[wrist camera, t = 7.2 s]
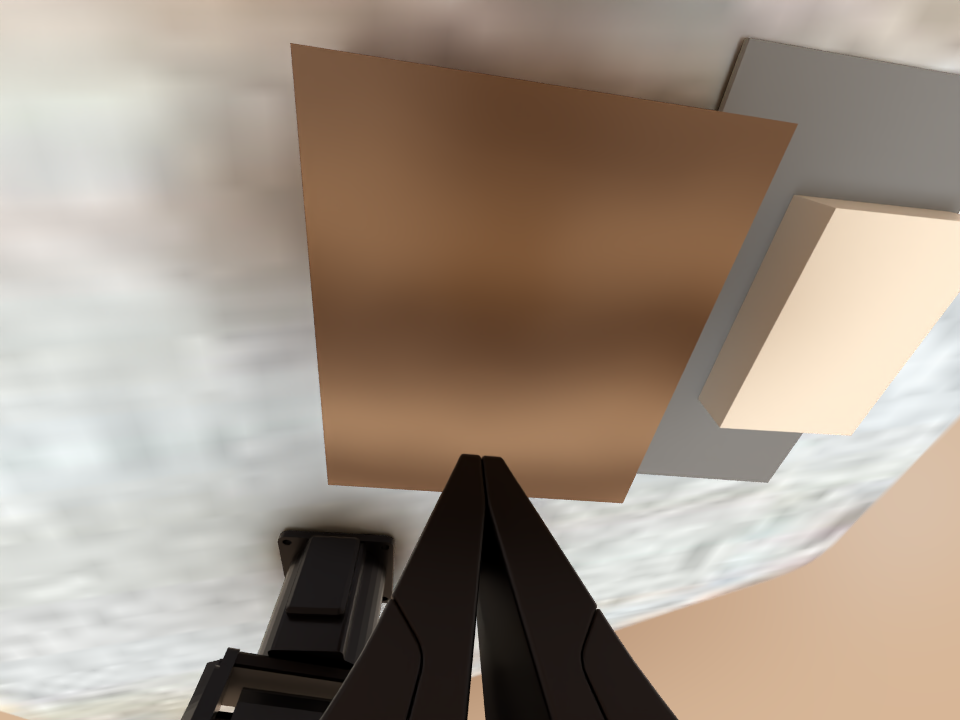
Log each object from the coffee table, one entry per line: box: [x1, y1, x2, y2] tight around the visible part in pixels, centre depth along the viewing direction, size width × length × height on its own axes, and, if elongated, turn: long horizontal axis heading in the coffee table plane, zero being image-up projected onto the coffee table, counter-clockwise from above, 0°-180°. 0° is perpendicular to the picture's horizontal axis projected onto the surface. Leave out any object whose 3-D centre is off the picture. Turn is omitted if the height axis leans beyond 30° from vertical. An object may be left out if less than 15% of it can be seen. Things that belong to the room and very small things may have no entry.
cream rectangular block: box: [698, 195, 960, 436], centre depth 17 cm, size 9×6×2 cm, turn 174°
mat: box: [637, 38, 960, 483], centre depth 18 cm, size 18×10×1 cm, turn 173°
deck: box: [290, 43, 798, 503], centre depth 15 cm, size 14×12×4 cm
